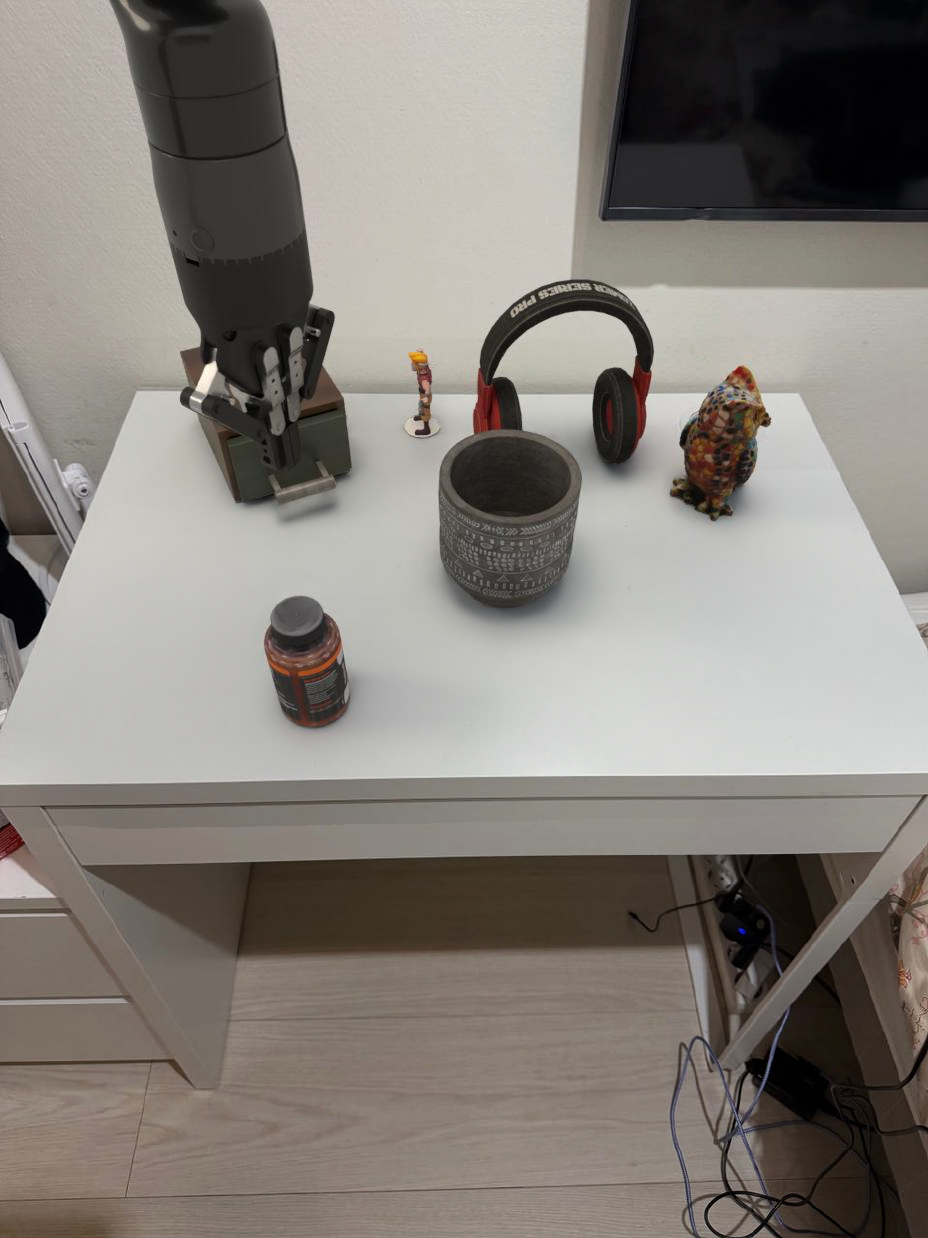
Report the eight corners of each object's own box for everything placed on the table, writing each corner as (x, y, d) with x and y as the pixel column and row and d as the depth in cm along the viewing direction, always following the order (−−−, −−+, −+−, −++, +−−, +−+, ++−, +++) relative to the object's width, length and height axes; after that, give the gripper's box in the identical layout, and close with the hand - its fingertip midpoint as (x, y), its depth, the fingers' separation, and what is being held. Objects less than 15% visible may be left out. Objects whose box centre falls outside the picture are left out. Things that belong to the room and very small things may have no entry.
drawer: (364, 493, 87) (358, 438, 81) (254, 527, 84) (240, 471, 78) (308, 399, 97) (300, 344, 91) (208, 425, 93) (193, 370, 88)
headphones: (482, 496, 88) (490, 323, 73) (467, 436, 94) (471, 265, 79) (645, 480, 90) (685, 308, 75) (619, 422, 96) (652, 252, 81)
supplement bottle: (365, 691, 72) (353, 606, 64) (321, 741, 69) (303, 659, 60) (310, 660, 74) (292, 574, 66) (265, 708, 71) (239, 624, 62)
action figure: (442, 466, 91) (441, 393, 84) (415, 467, 91) (412, 394, 84) (434, 398, 99) (432, 326, 91) (409, 400, 98) (406, 327, 91)
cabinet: (352, 468, 91) (344, 398, 84) (235, 502, 87) (217, 432, 80) (307, 392, 99) (296, 323, 92) (199, 421, 95) (179, 351, 89)
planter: (550, 638, 76) (565, 537, 66) (422, 606, 79) (418, 505, 69) (578, 545, 84) (595, 443, 74) (461, 519, 86) (462, 416, 76)
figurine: (769, 511, 87) (818, 389, 76) (693, 532, 85) (731, 409, 74) (725, 460, 92) (765, 338, 81) (652, 478, 90) (682, 355, 79)
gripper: (257, 160, 51) (297, 399, 65) (96, 253, 44) (178, 501, 57) (360, 189, 49) (379, 431, 62) (208, 292, 42) (266, 541, 55)
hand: (282, 464), depth 60 cm, fingers closed
